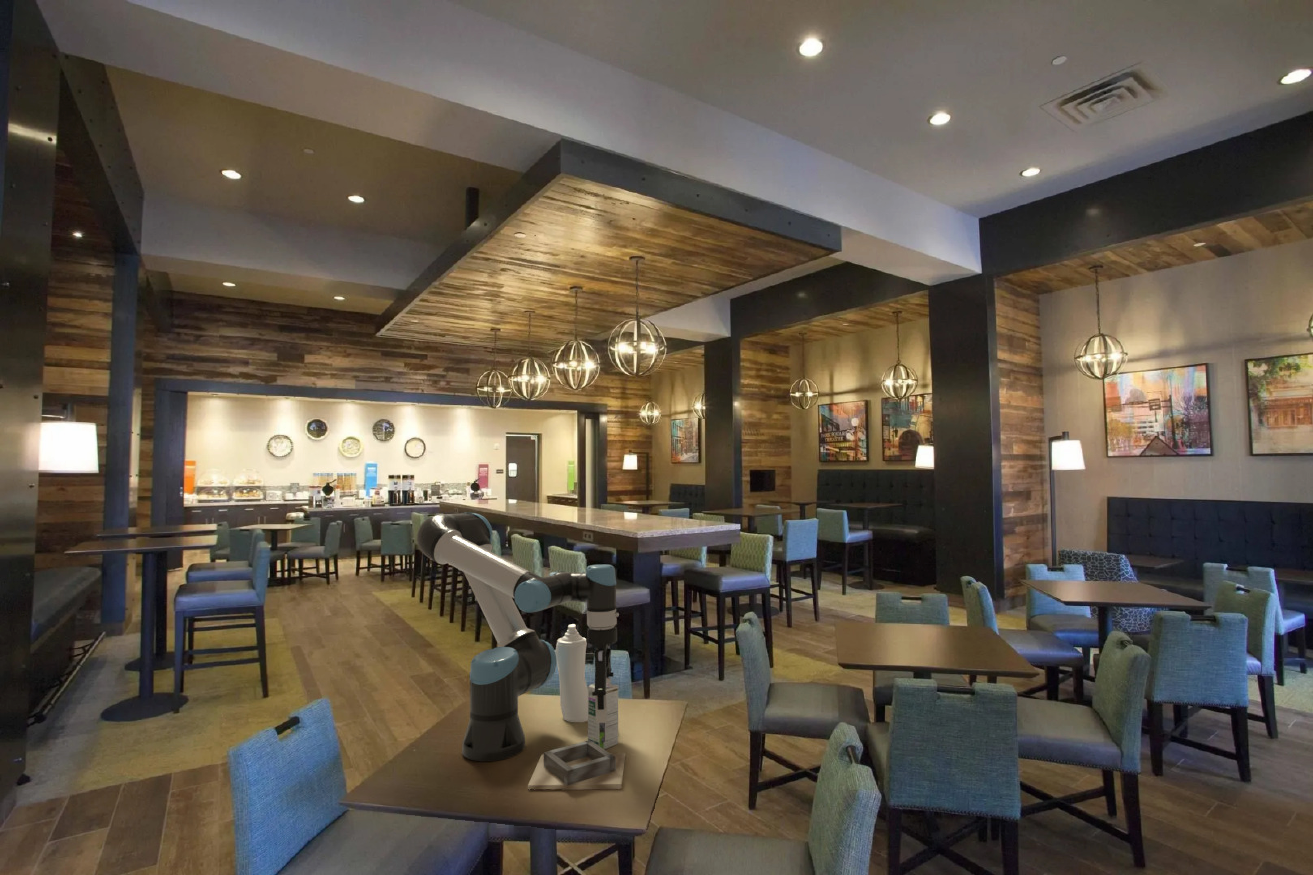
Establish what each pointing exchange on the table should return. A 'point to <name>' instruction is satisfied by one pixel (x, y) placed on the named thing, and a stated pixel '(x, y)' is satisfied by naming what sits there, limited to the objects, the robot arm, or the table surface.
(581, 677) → the spray can
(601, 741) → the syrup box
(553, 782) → the socket board
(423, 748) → the table surface
